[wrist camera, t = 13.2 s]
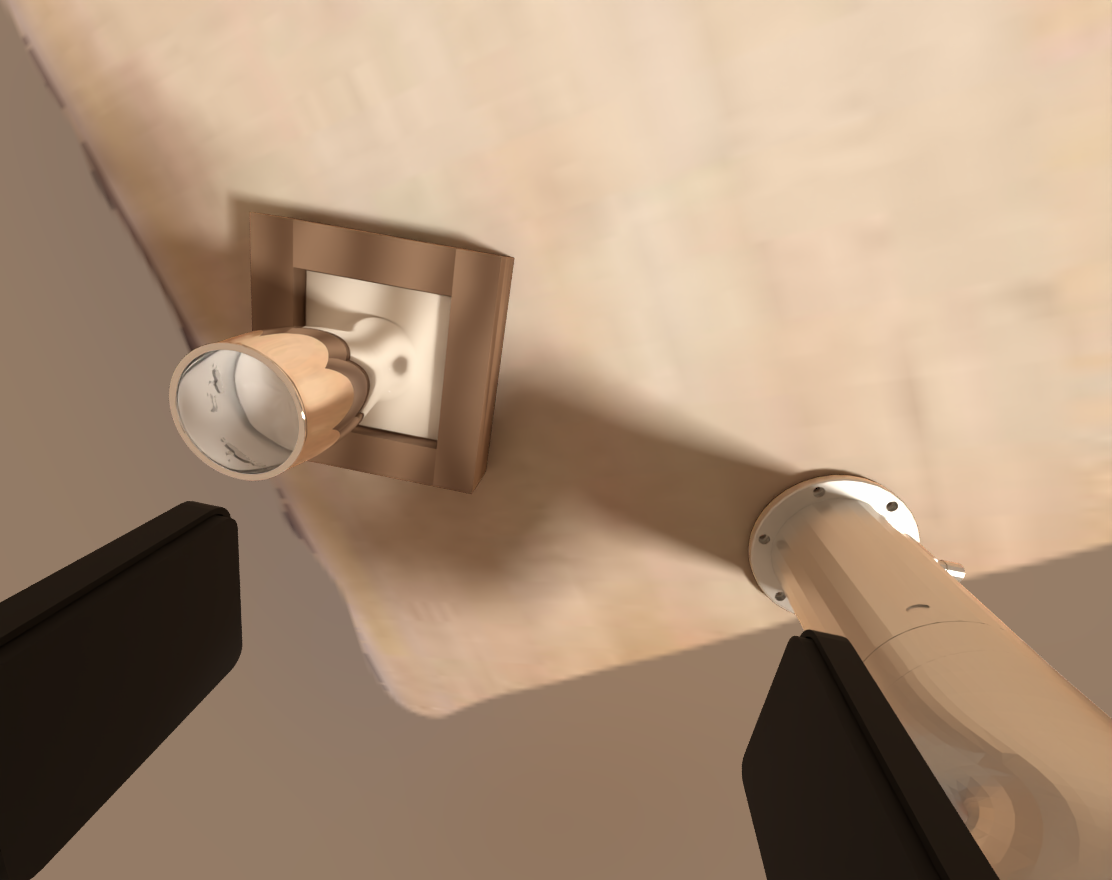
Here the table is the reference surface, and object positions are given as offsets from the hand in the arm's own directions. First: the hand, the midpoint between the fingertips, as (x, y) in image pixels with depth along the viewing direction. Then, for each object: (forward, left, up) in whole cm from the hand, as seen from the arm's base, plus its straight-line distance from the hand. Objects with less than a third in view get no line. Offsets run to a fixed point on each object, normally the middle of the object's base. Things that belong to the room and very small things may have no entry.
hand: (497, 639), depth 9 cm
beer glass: (+15, +3, -29) cm, 33 cm away
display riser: (+15, +3, -32) cm, 36 cm away
